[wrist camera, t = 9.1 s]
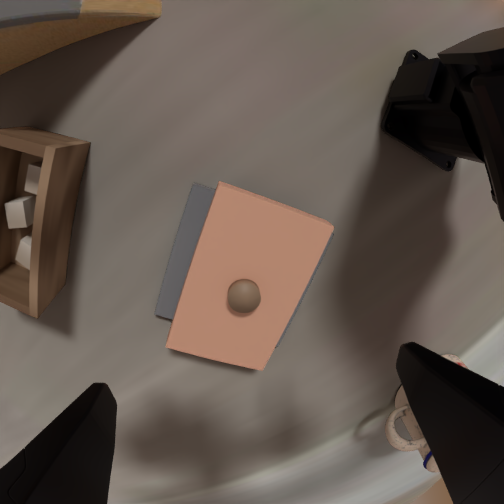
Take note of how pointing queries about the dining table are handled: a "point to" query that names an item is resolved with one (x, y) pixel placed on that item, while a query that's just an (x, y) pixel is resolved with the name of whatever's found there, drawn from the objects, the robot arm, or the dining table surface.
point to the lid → (245, 277)
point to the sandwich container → (61, 24)
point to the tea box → (36, 213)
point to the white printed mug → (411, 427)
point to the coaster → (185, 250)
